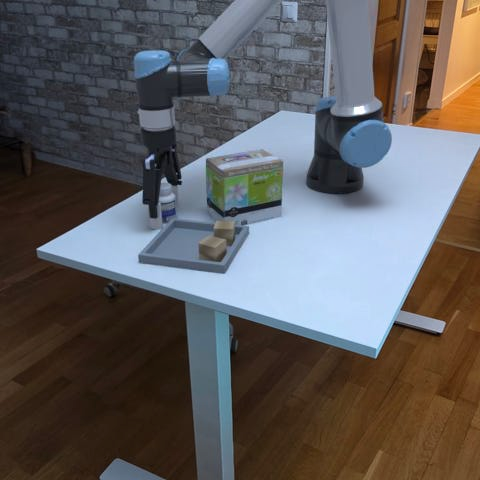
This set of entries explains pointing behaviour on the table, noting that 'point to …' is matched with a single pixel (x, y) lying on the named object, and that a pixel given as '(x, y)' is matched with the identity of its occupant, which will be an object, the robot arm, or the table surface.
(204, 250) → the oak cube
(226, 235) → the oak cube
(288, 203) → the table surface
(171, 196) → the pill bottle
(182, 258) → the tray
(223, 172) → the tea box
